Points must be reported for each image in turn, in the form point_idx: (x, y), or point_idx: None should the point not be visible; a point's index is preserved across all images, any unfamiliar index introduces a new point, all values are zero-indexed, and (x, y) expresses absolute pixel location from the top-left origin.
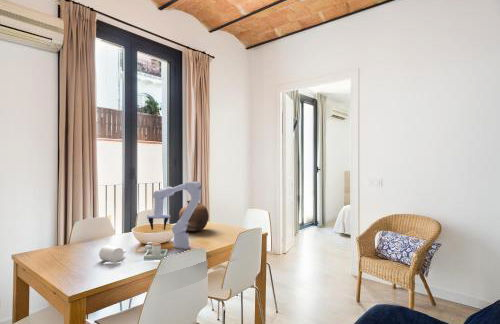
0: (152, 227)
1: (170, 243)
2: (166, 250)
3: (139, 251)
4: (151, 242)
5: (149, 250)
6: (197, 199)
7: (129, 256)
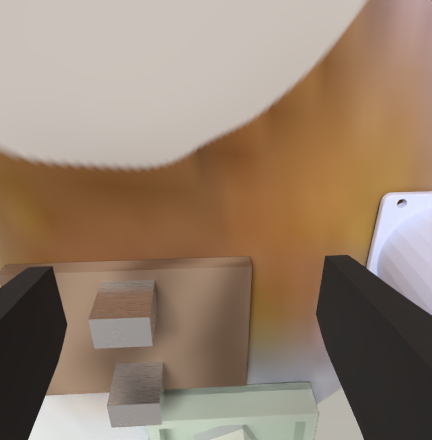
0: (48, 380)
1: (350, 79)
2: (309, 437)
3: (70, 387)
4: (136, 326)
5: (165, 425)
6: None
7: None
